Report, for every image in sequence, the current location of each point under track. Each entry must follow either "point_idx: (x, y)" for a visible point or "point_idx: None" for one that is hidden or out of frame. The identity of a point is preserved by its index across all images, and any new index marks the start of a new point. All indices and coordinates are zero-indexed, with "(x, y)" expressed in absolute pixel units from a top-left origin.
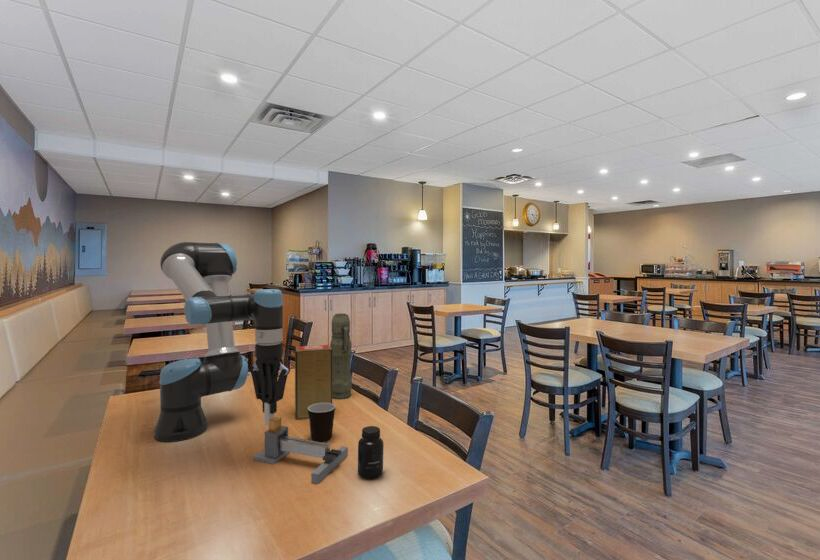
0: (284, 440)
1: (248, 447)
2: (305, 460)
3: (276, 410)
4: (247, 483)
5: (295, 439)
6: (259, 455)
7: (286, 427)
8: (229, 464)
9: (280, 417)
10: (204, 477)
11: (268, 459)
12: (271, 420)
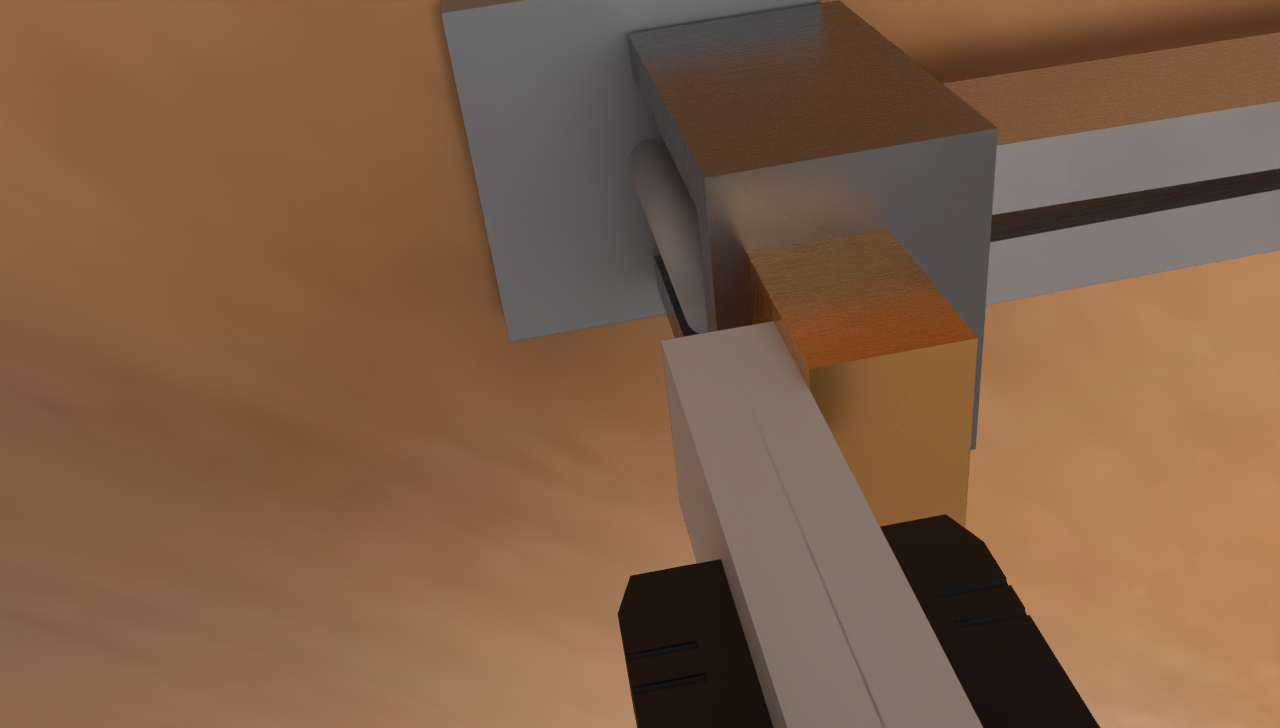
0: (1014, 283)
1: (93, 114)
2: (1137, 2)
3: (987, 554)
4: None
5: (1169, 171)
6: (559, 288)
7: (981, 168)
8: (350, 499)
9: (959, 346)
10: (381, 713)
11: None
12: None
